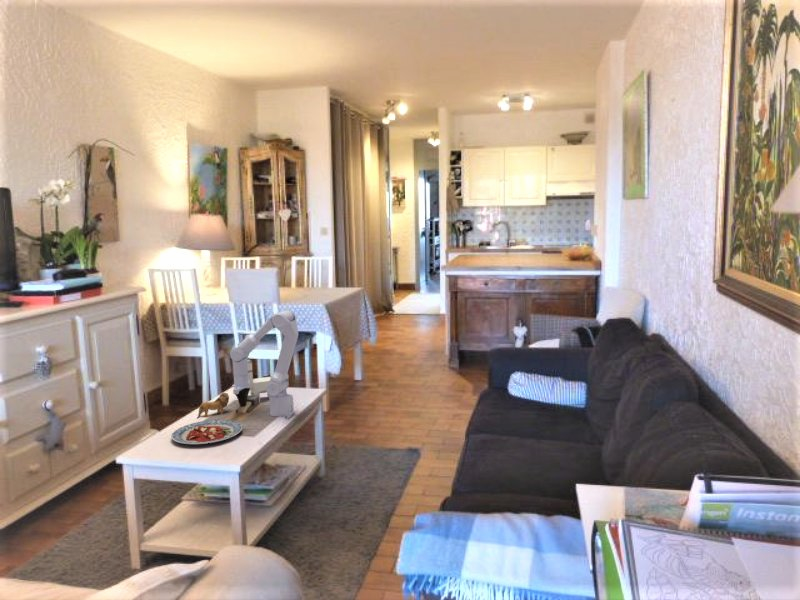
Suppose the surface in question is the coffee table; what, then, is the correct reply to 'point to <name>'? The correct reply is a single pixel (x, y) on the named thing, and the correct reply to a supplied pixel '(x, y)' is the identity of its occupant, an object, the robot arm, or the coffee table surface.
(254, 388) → the toy llama
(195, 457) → the coffee table surface
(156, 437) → the coffee table surface
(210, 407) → the lion figurine
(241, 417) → the cradle
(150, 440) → the coffee table surface
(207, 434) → the ceramic plate
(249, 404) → the slat
